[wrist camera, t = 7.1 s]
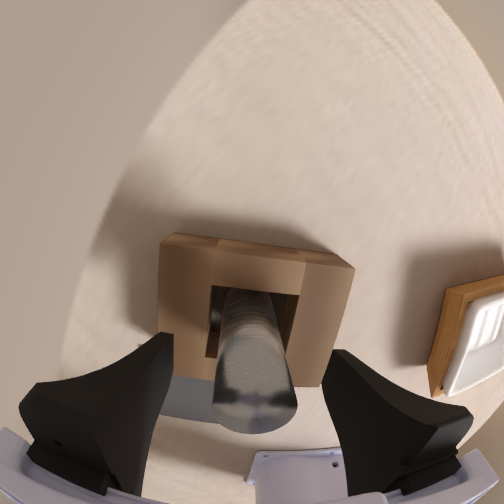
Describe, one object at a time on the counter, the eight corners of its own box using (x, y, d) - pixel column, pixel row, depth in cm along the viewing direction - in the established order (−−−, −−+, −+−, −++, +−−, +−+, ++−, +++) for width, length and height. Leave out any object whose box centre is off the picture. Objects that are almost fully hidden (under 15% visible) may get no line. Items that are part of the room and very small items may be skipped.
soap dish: (510, 261, 18) (543, 276, 13) (490, 343, 20) (516, 364, 15) (435, 277, 18) (476, 302, 13) (412, 376, 20) (439, 409, 15)
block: (337, 254, 16) (355, 268, 14) (309, 360, 18) (319, 387, 15) (174, 232, 16) (160, 243, 13) (169, 346, 18) (159, 371, 15)
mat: (253, 363, 18) (253, 365, 18) (241, 423, 20) (241, 425, 19) (143, 346, 18) (141, 348, 17) (149, 409, 19) (148, 411, 19)
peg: (275, 285, 17) (306, 381, 8) (267, 327, 18) (286, 435, 9) (226, 279, 17) (214, 375, 8) (221, 322, 17) (209, 430, 9)
